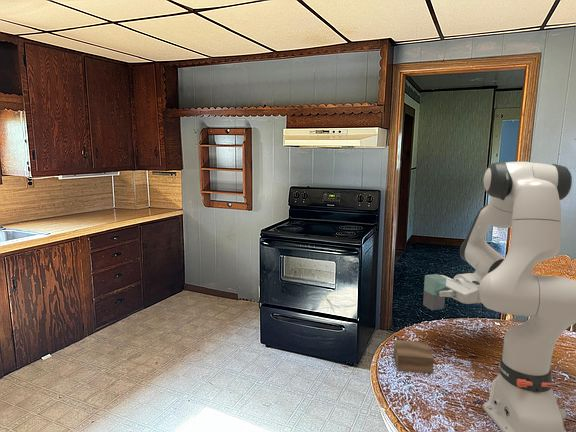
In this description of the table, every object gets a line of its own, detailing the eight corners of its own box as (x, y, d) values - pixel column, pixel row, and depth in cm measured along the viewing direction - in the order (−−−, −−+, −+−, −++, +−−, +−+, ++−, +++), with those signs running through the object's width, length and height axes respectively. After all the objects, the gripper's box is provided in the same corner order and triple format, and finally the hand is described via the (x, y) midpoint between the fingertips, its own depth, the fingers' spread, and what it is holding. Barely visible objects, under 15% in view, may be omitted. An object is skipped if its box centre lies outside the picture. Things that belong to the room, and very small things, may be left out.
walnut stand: (432, 373, 130) (433, 358, 129) (397, 370, 131) (398, 356, 130) (426, 355, 140) (427, 342, 140) (393, 353, 142) (394, 339, 141)
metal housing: (444, 308, 141) (446, 278, 139) (432, 310, 140) (434, 279, 138) (434, 303, 146) (436, 273, 144) (422, 304, 144) (424, 275, 142)
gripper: (444, 269, 155) (414, 273, 150) (487, 287, 136) (453, 291, 131) (443, 285, 156) (413, 289, 151) (485, 304, 137) (452, 310, 133)
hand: (432, 290), depth 141 cm, fingers closed on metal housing, 5 cm apart
